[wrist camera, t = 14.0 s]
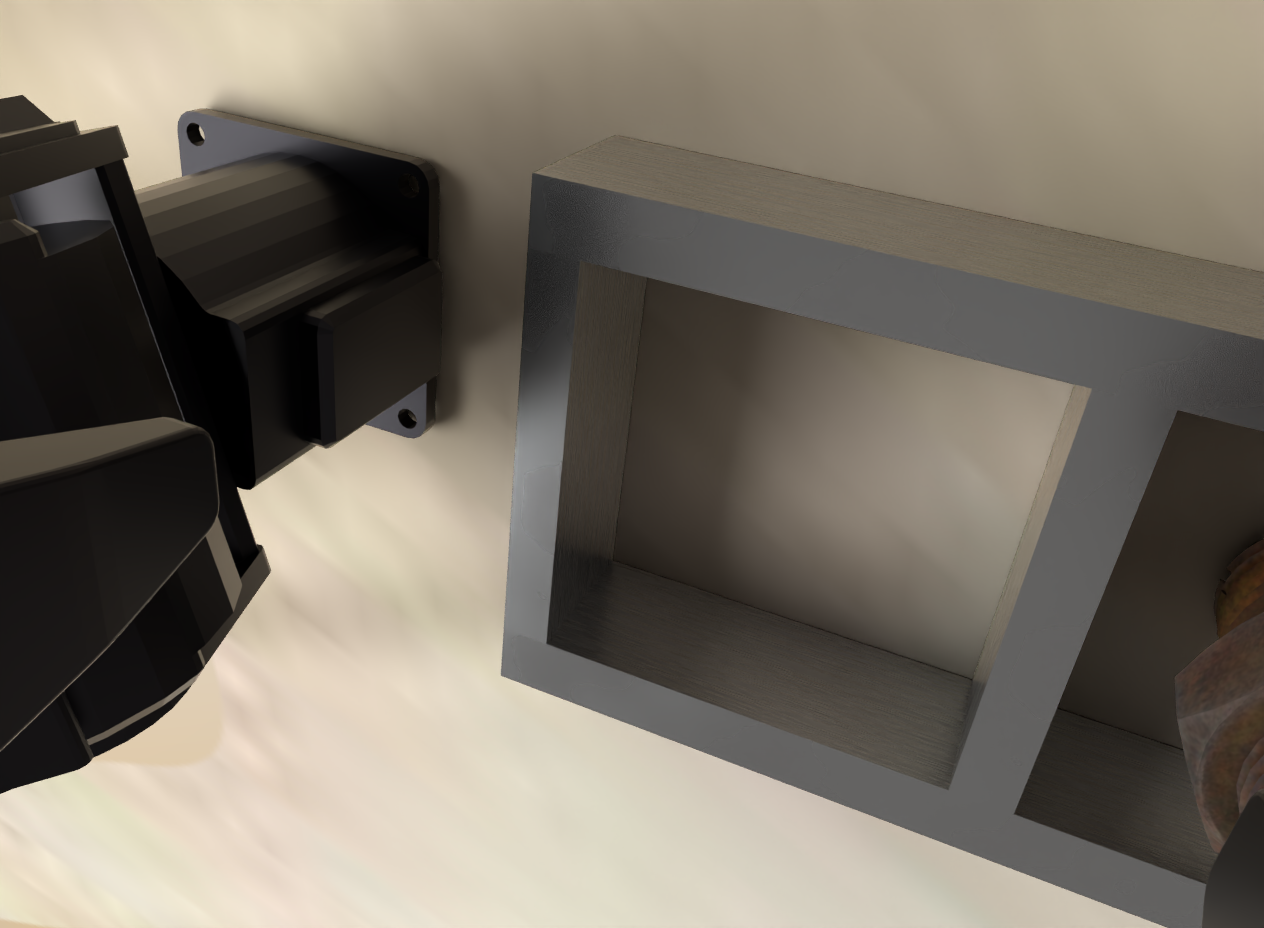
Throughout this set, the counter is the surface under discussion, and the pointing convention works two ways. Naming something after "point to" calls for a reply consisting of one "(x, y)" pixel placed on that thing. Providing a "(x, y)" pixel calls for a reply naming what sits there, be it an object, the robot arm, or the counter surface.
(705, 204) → the grey divided tray
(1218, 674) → the bolt
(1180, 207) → the counter surface
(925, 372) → the counter surface
